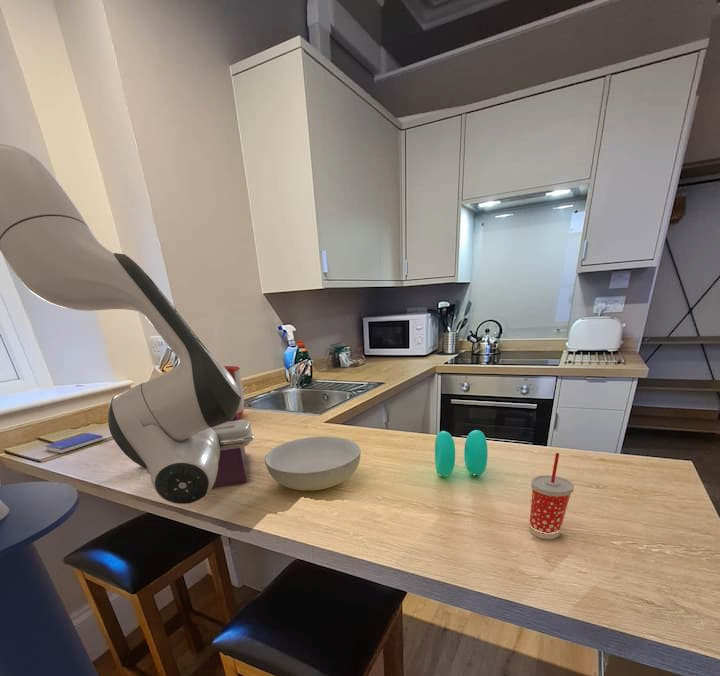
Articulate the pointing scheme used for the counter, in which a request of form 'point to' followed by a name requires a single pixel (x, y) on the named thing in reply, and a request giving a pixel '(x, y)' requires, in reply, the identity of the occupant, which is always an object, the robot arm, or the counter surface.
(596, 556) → the counter surface
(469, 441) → the pair of teal ovoids
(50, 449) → the hard drive
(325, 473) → the serving bowl
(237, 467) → the box
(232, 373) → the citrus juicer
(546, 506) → the beverage cup
